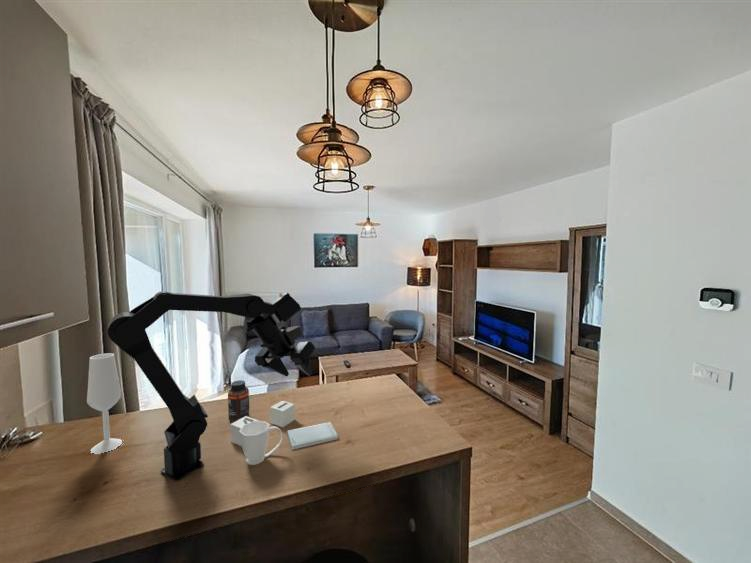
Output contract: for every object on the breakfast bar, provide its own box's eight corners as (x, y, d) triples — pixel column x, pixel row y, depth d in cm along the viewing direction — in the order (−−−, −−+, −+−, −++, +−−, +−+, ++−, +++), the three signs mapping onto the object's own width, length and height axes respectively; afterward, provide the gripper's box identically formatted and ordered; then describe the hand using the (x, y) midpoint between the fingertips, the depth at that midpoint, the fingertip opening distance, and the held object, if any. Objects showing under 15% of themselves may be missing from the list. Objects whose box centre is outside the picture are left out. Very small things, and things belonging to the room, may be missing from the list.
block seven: (243, 447, 82) (243, 428, 81) (230, 442, 84) (230, 423, 84) (258, 437, 86) (258, 419, 86) (246, 433, 88) (245, 415, 88)
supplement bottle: (253, 414, 99) (252, 379, 98) (243, 424, 93) (242, 386, 92) (235, 413, 100) (234, 378, 99) (224, 422, 94) (223, 386, 93)
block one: (282, 427, 91) (282, 410, 91) (270, 423, 94) (270, 406, 93) (294, 420, 96) (294, 403, 95) (282, 416, 98) (282, 400, 98)
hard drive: (291, 446, 81) (338, 435, 86) (287, 429, 88) (330, 420, 93) (291, 452, 81) (338, 441, 86) (287, 435, 88) (330, 426, 93)
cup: (238, 455, 78) (238, 424, 78) (280, 444, 83) (279, 415, 82) (241, 472, 72) (240, 438, 71) (285, 459, 77) (285, 427, 76)
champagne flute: (83, 451, 80) (77, 358, 78) (112, 436, 86) (107, 351, 84) (101, 456, 78) (95, 361, 76) (130, 441, 84) (125, 353, 82)
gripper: (311, 311, 86) (336, 353, 92) (265, 319, 95) (291, 356, 102) (288, 339, 78) (318, 383, 84) (240, 344, 87) (270, 383, 93)
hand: (298, 374), depth 91 cm, fingers open, 9 cm apart
